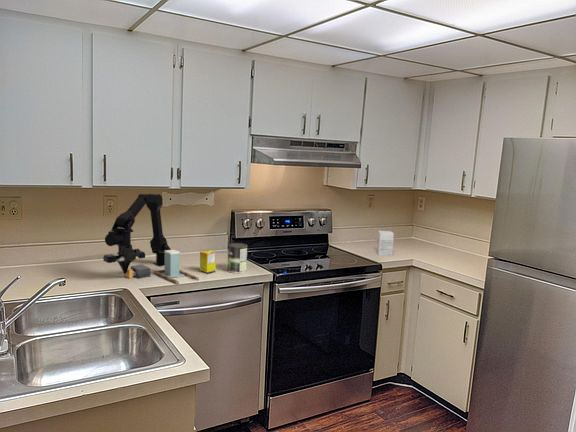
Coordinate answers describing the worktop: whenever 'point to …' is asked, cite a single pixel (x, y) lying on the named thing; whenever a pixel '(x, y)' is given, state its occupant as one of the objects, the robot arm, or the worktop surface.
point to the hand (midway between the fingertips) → (124, 273)
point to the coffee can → (237, 257)
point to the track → (170, 278)
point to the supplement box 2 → (385, 243)
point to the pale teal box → (172, 262)
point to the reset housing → (141, 271)
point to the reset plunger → (130, 273)
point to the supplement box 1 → (207, 261)
